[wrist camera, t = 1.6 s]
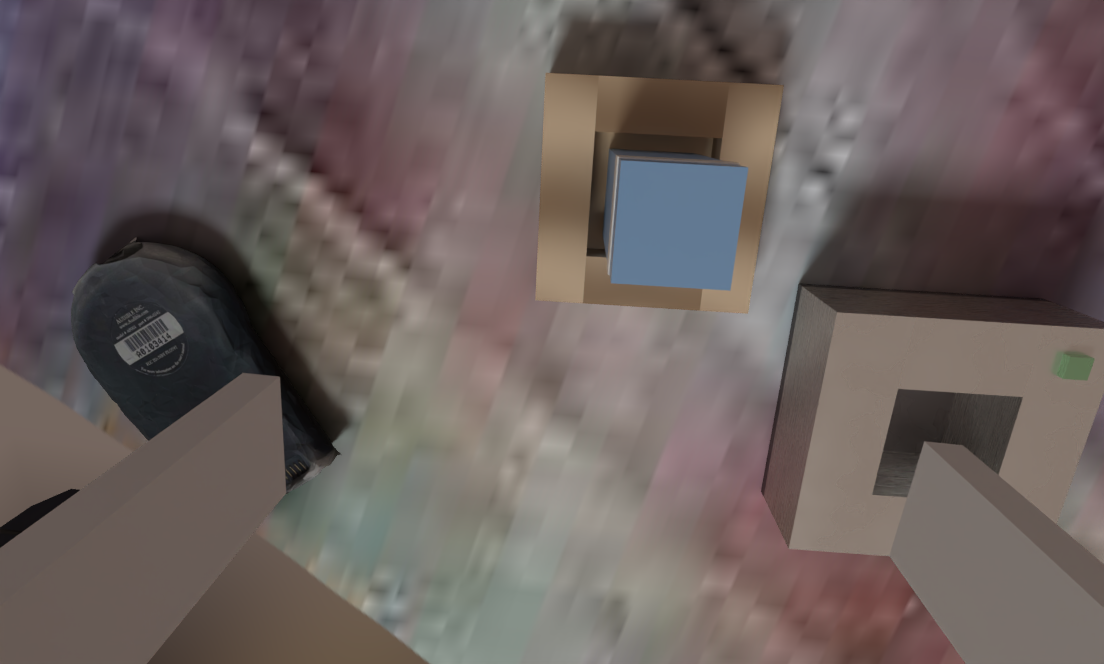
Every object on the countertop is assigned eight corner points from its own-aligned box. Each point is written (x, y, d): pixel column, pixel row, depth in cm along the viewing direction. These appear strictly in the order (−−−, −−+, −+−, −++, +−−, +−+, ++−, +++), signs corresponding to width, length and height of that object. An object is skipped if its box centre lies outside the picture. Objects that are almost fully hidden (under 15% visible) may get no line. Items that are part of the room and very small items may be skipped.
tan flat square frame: (548, 76, 29) (545, 72, 27) (767, 88, 29) (783, 85, 26) (539, 287, 32) (535, 300, 30) (735, 299, 32) (748, 313, 29)
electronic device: (369, 419, 37) (181, 204, 31) (332, 485, 32) (102, 245, 26) (258, 473, 40) (68, 286, 34) (209, 540, 35) (-21, 336, 29)
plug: (608, 147, 29) (619, 158, 20) (696, 152, 29) (750, 165, 20) (601, 234, 31) (609, 284, 21) (685, 239, 30) (731, 291, 21)
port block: (798, 283, 31) (840, 315, 26) (1043, 298, 31) (1134, 333, 26) (761, 491, 35) (791, 553, 30) (978, 506, 35) (1046, 572, 30)
